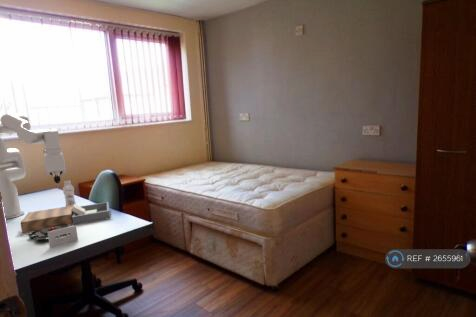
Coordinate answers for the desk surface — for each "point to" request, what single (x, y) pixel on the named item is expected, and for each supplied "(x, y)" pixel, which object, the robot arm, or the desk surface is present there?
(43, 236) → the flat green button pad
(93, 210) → the tile sage
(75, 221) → the bin
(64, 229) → the cassette
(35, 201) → the desk surface
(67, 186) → the plastic bottle
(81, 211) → the tile cream
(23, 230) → the wooden block
